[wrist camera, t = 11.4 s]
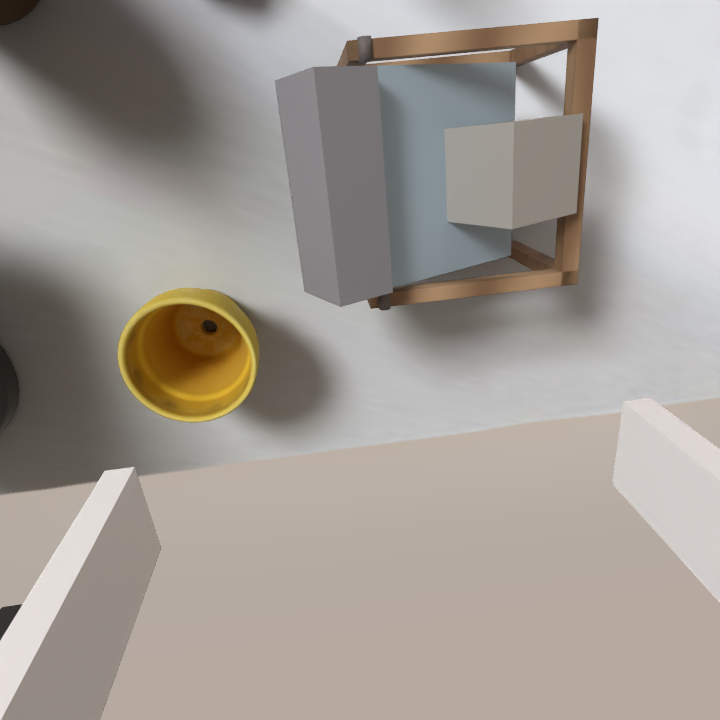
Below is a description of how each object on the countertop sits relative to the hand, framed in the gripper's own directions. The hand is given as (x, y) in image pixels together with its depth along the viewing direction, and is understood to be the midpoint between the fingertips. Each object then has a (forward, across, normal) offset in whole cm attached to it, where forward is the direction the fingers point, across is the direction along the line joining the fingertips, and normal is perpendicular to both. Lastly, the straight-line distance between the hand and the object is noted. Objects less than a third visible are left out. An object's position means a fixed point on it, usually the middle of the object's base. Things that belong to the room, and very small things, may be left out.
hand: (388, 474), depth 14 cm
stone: (+26, +11, +6) cm, 29 cm away
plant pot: (+35, -12, -6) cm, 37 cm away
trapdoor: (+27, +5, +6) cm, 28 cm away
